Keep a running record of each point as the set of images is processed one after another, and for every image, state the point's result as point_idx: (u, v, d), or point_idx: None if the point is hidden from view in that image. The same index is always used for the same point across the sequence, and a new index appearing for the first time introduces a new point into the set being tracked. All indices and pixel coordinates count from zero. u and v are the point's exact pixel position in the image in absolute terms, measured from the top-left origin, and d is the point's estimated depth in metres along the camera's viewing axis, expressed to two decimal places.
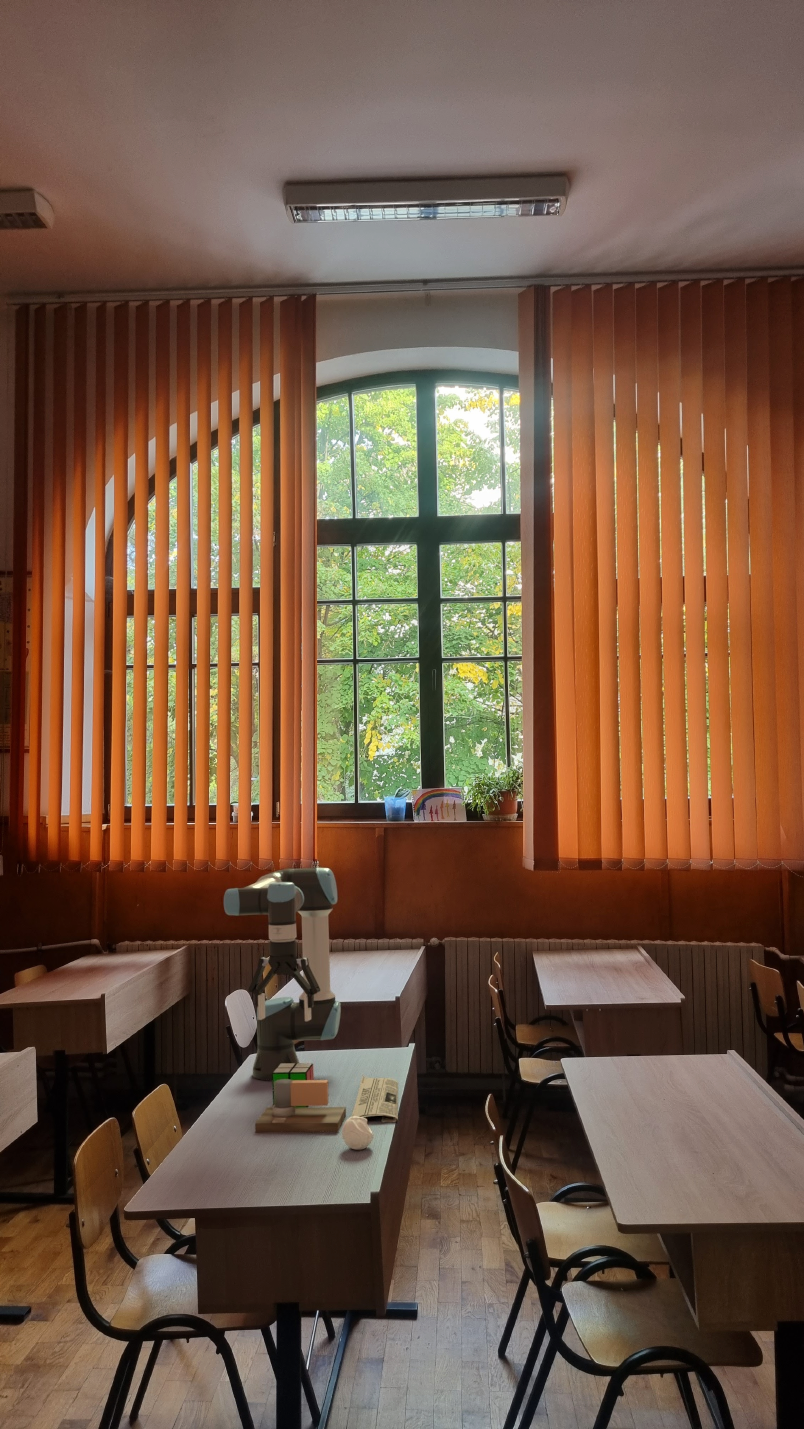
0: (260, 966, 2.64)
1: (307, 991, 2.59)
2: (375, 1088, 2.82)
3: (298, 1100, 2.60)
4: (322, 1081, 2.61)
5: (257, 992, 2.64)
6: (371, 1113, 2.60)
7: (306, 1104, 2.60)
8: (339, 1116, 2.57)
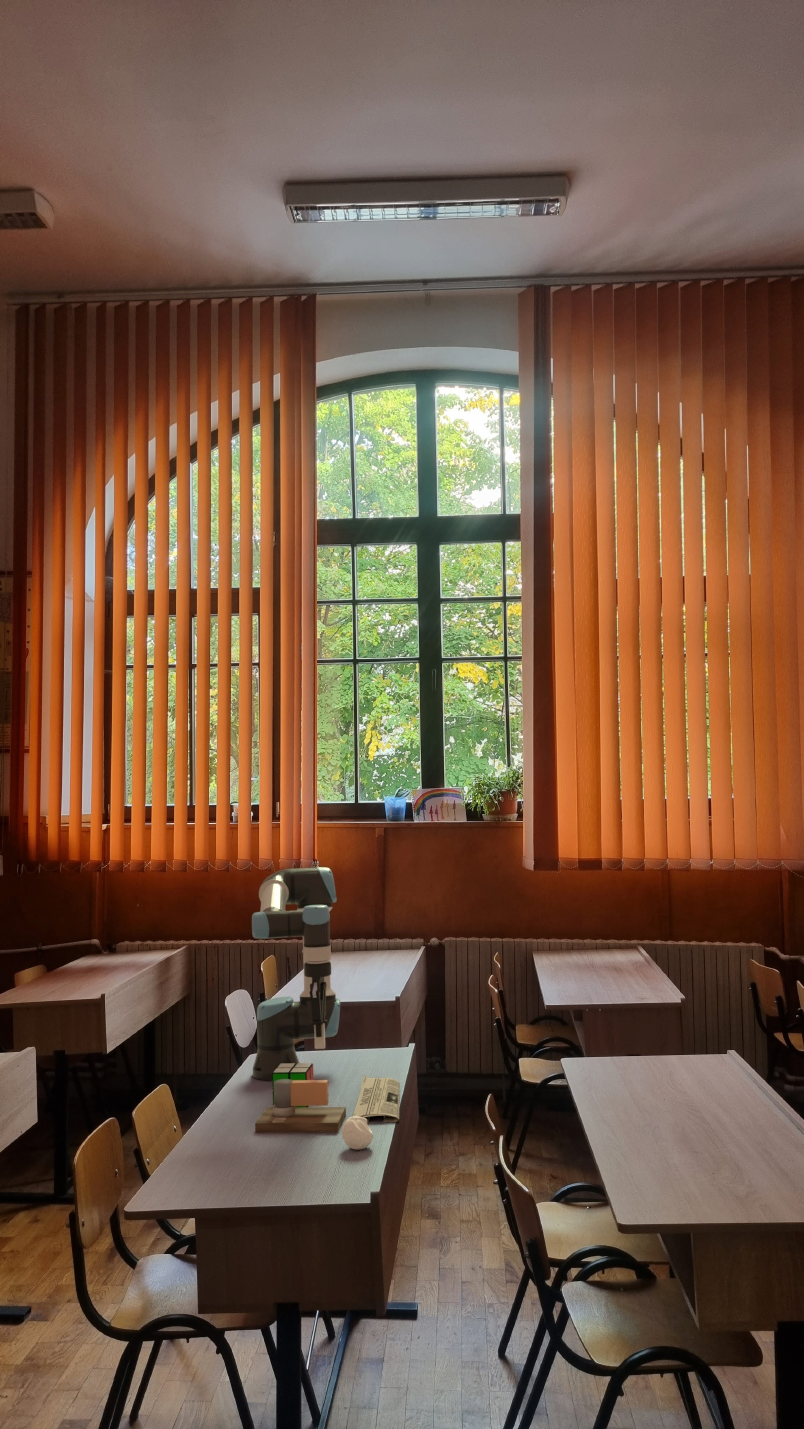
0: None
1: None
2: (377, 1088, 2.82)
3: (298, 1100, 2.60)
4: (322, 1081, 2.61)
5: None
6: (372, 1113, 2.60)
7: (306, 1104, 2.60)
8: (339, 1116, 2.57)
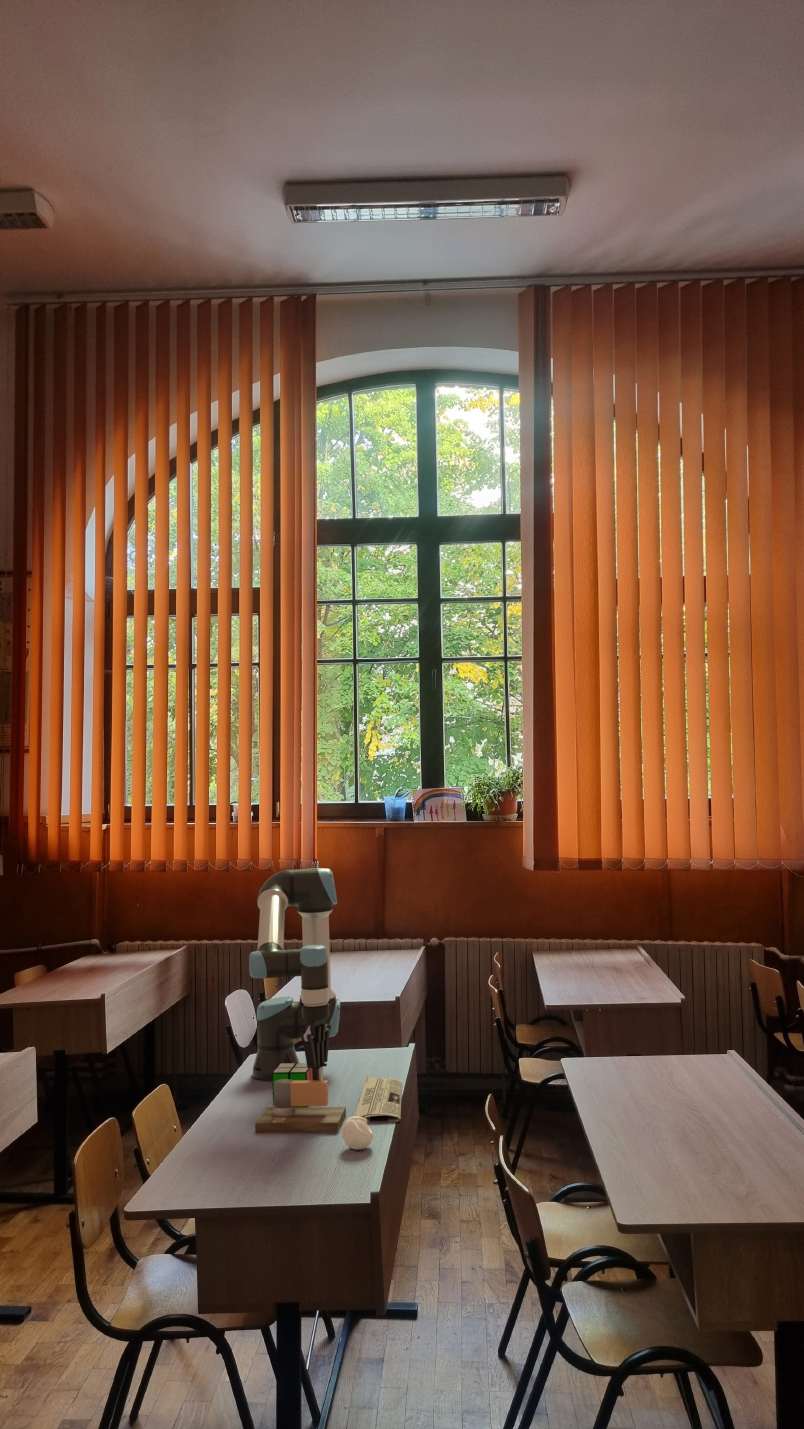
0: None
1: None
2: (379, 1088, 2.82)
3: (298, 1100, 2.60)
4: (322, 1082, 2.60)
5: None
6: (374, 1113, 2.60)
7: (306, 1104, 2.59)
8: (339, 1116, 2.57)
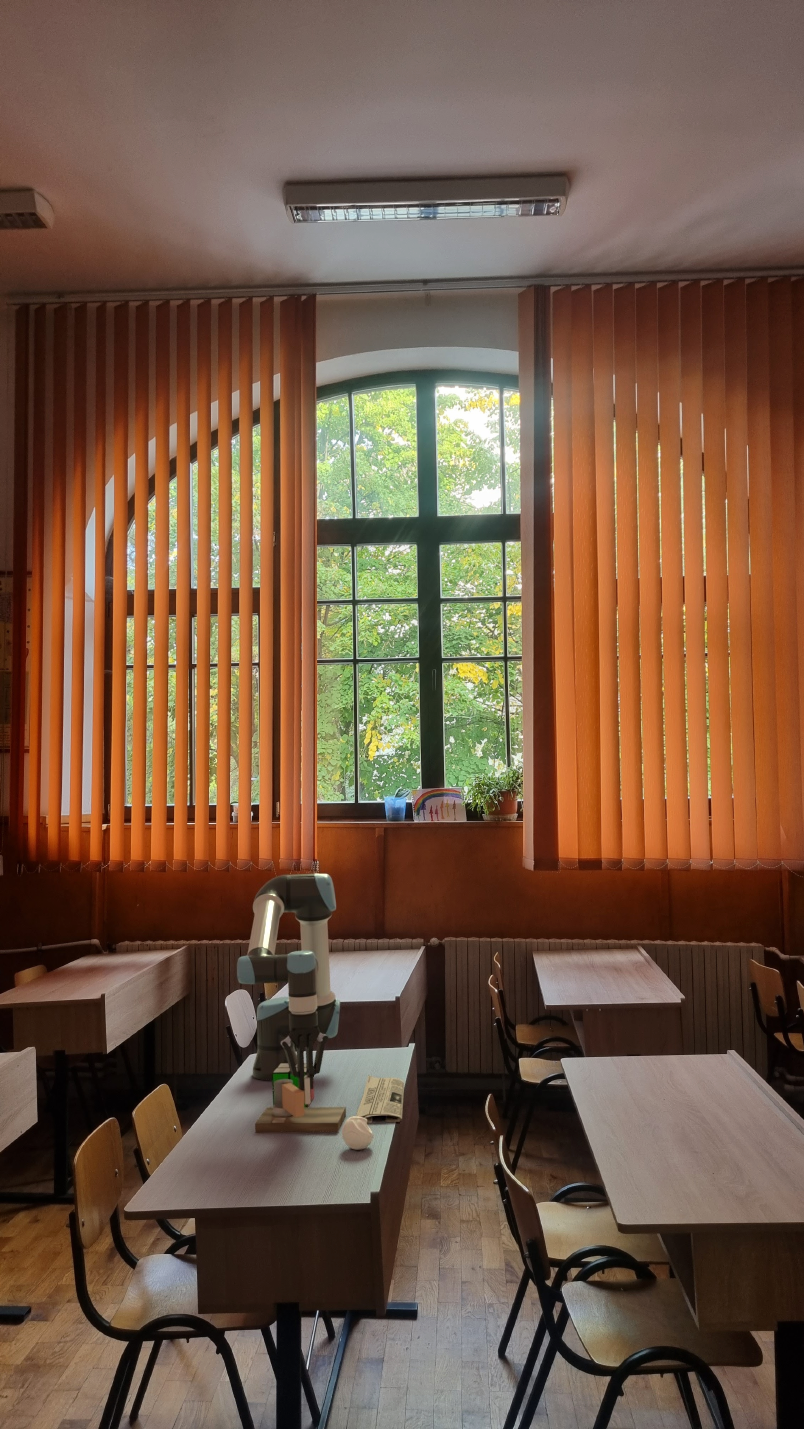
0: None
1: None
2: (381, 1087, 2.82)
3: (285, 1104, 2.57)
4: (296, 1091, 2.52)
5: None
6: (375, 1113, 2.60)
7: (288, 1110, 2.55)
8: (339, 1116, 2.57)
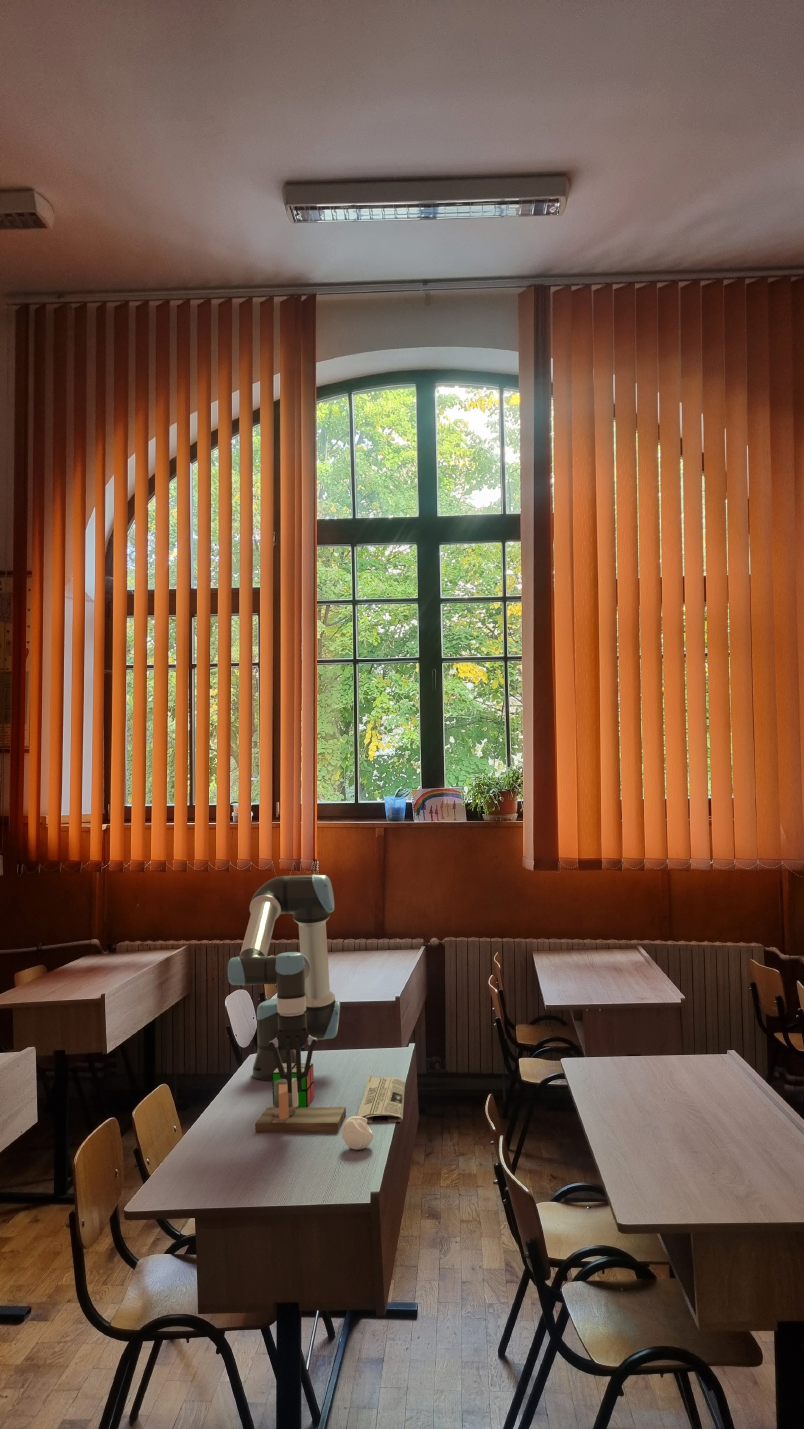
0: None
1: None
2: (382, 1087, 2.82)
3: None
4: (282, 1093, 2.51)
5: None
6: (376, 1113, 2.60)
7: None
8: (339, 1116, 2.57)
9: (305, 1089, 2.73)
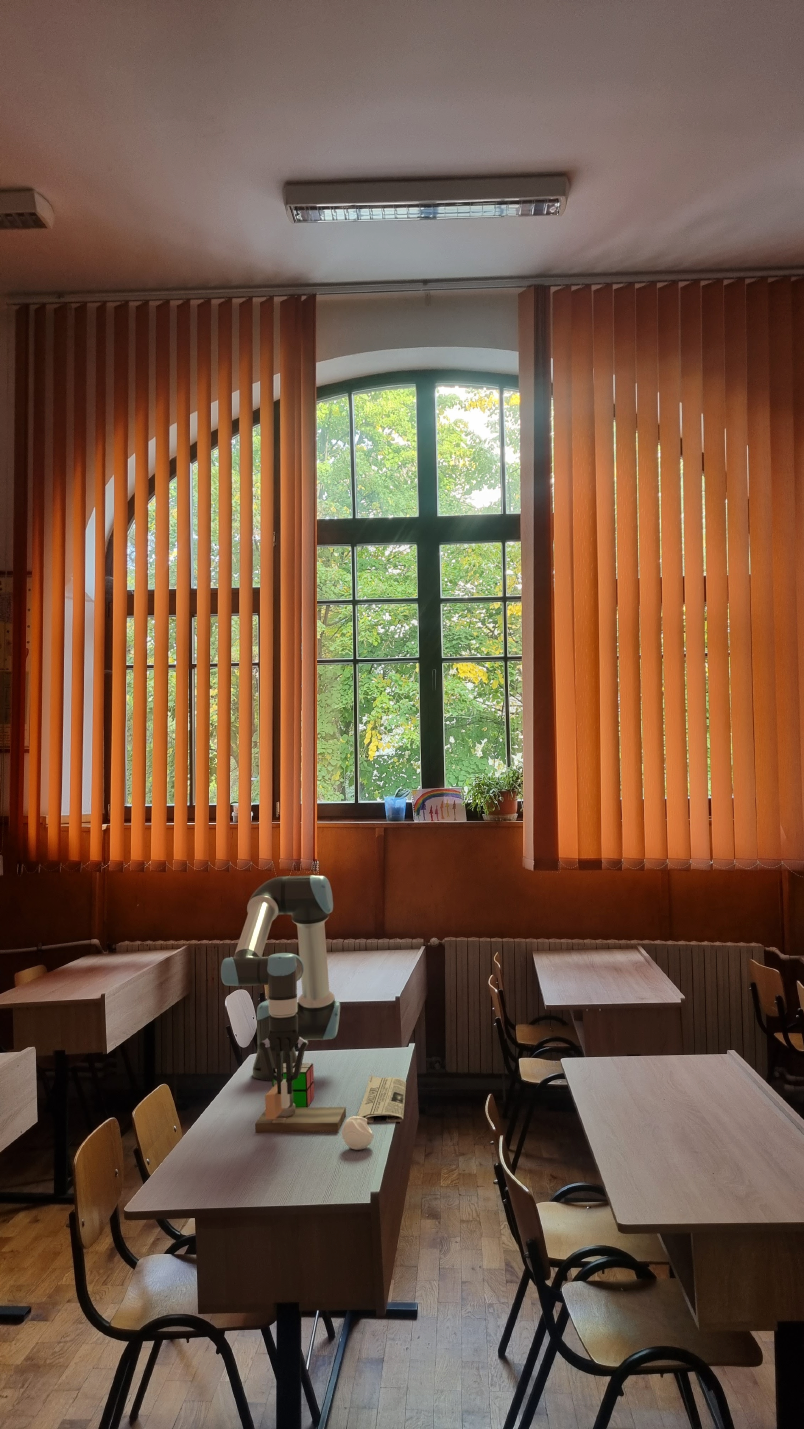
0: None
1: None
2: (383, 1087, 2.82)
3: None
4: (269, 1093, 2.51)
5: None
6: (377, 1112, 2.60)
7: None
8: (339, 1116, 2.57)
9: (305, 1089, 2.73)
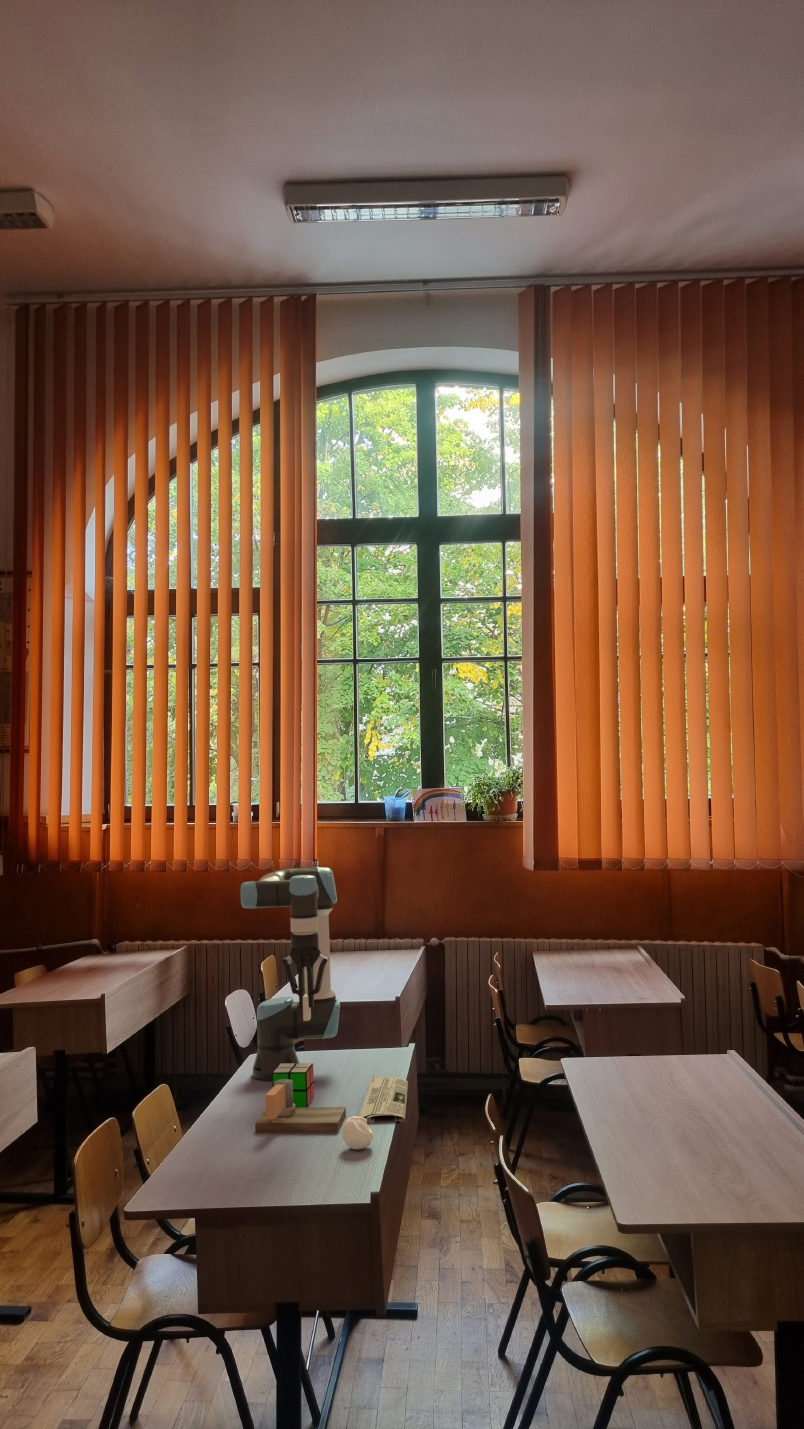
0: None
1: None
2: (384, 1087, 2.82)
3: None
4: (269, 1093, 2.51)
5: None
6: (378, 1112, 2.60)
7: None
8: (339, 1116, 2.57)
9: (305, 1089, 2.73)
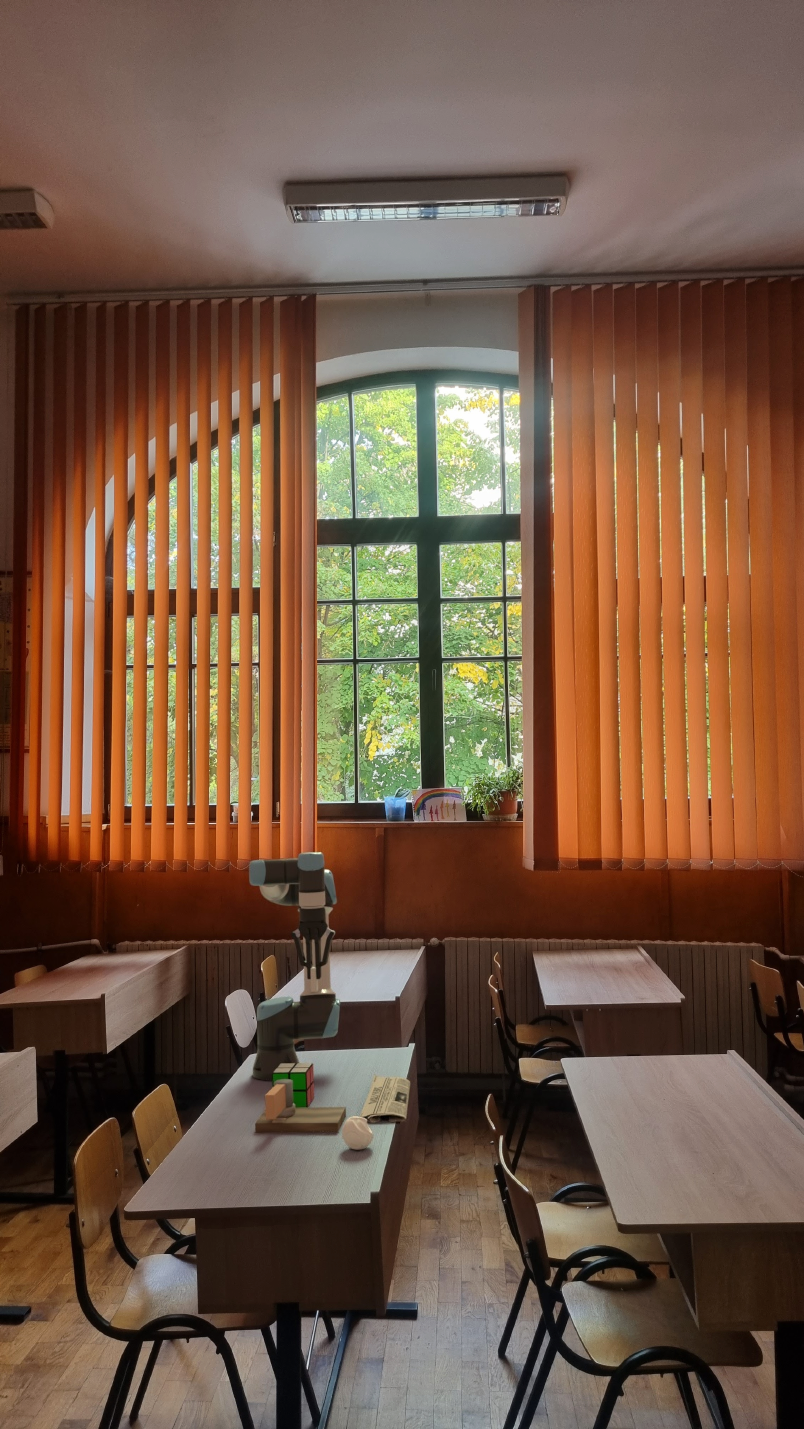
0: None
1: None
2: (386, 1087, 2.83)
3: None
4: (269, 1093, 2.51)
5: None
6: (380, 1112, 2.60)
7: None
8: (339, 1116, 2.57)
9: (305, 1089, 2.73)
